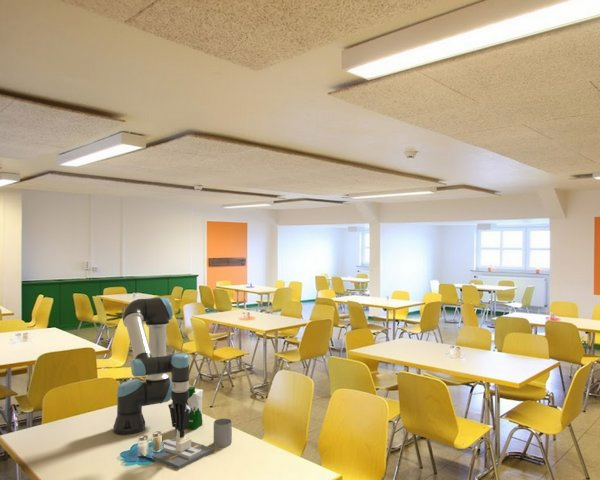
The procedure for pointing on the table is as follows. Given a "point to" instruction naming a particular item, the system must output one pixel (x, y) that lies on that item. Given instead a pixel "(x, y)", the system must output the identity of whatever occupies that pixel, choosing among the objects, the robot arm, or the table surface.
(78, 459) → the table surface
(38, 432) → the table surface
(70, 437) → the table surface
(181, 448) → the fader
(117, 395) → the robot arm
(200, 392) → the milk carton
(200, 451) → the console
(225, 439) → the cup
